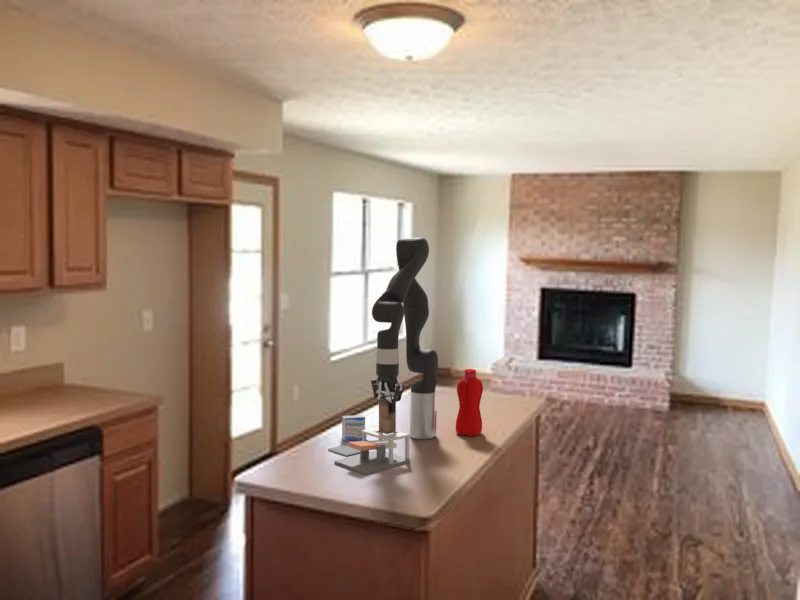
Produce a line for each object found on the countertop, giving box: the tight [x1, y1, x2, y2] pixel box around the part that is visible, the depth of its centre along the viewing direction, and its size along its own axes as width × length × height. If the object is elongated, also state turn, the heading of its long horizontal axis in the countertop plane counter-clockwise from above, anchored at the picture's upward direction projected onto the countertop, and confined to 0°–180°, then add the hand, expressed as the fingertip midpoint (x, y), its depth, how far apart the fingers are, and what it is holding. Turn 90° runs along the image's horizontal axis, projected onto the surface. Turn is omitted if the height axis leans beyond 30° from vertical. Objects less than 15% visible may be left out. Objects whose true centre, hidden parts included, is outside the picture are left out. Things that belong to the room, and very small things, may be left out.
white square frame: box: [334, 426, 411, 476], centre depth 235 cm, size 20×15×9 cm
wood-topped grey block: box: [378, 397, 397, 435], centre depth 238 cm, size 4×4×11 cm
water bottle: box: [455, 368, 484, 437], centre depth 273 cm, size 9×11×25 cm
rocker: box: [348, 439, 398, 451], centre depth 235 cm, size 16×6×2 cm, turn 134°
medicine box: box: [341, 414, 366, 442], centre depth 263 cm, size 8×4×9 cm, turn 105°
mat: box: [327, 443, 360, 458], centre depth 249 cm, size 10×10×1 cm
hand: (386, 412), depth 238 cm, fingers closed on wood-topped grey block, 4 cm apart
